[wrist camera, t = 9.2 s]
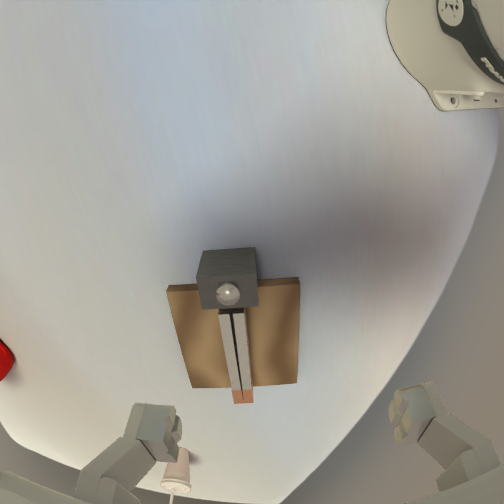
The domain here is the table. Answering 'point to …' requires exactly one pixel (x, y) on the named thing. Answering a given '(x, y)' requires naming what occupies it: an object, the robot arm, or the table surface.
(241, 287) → the pivot block
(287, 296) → the walnut board
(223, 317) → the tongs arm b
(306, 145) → the table surface
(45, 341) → the table surface
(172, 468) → the smoothie
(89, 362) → the table surface
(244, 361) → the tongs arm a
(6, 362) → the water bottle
